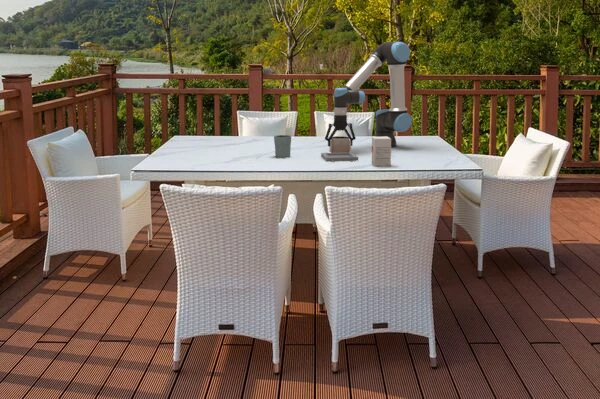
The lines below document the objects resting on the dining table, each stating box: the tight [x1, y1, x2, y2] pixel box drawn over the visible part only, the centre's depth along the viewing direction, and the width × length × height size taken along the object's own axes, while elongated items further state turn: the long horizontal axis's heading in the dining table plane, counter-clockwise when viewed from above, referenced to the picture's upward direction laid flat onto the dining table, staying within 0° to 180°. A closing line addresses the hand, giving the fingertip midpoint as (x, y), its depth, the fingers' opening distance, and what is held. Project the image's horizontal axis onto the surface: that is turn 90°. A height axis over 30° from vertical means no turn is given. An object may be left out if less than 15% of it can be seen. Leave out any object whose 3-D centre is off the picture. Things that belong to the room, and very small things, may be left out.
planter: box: [330, 135, 350, 153], centre depth 427 cm, size 11×11×10 cm
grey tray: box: [320, 152, 359, 163], centre depth 408 cm, size 18×21×2 cm
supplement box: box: [371, 136, 392, 167], centre depth 386 cm, size 9×9×15 cm
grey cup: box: [273, 134, 292, 159], centre depth 416 cm, size 10×10×12 cm
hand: (340, 151), depth 428 cm, fingers closed on planter, 11 cm apart
